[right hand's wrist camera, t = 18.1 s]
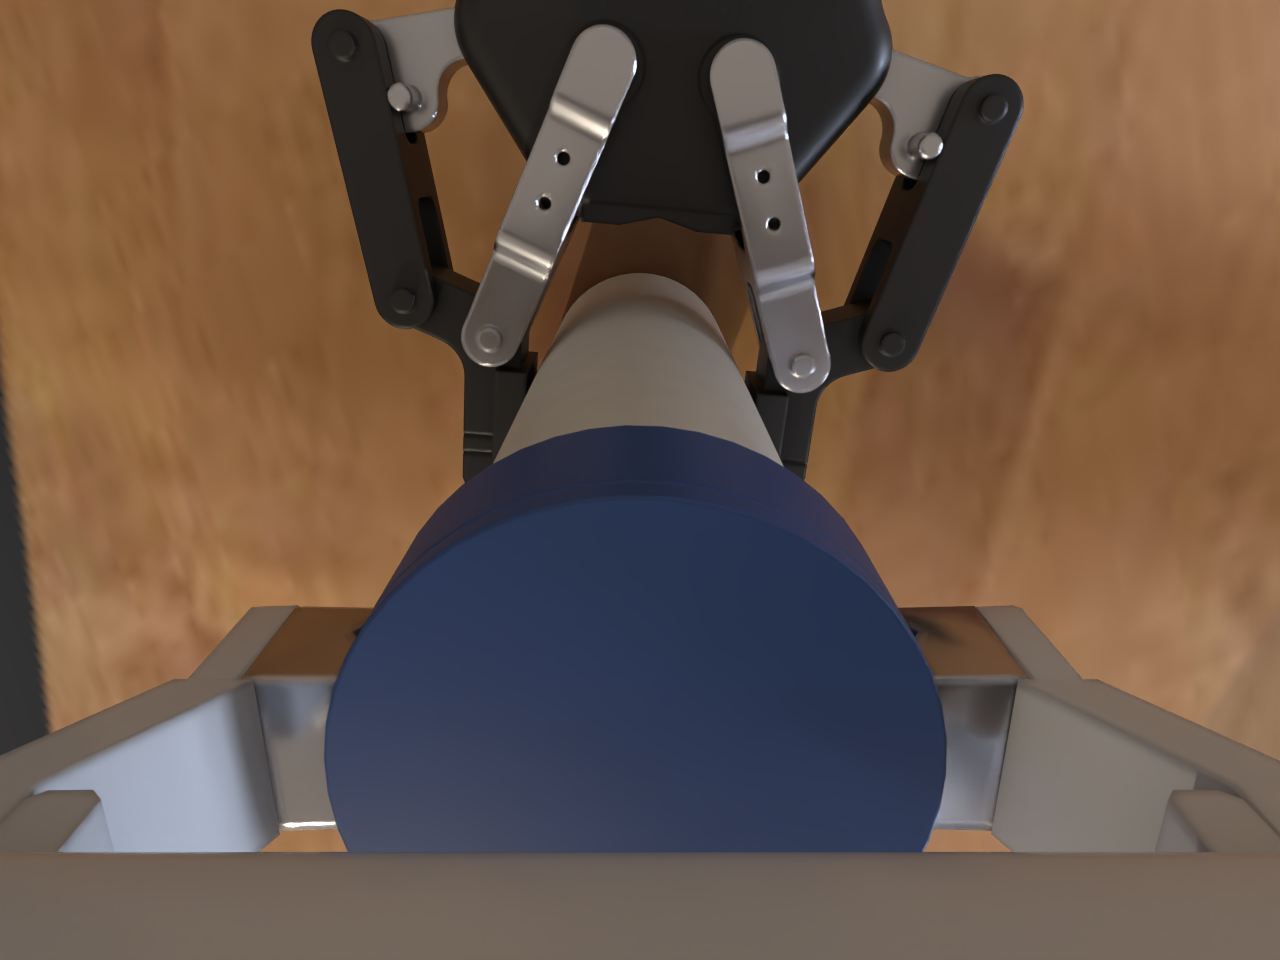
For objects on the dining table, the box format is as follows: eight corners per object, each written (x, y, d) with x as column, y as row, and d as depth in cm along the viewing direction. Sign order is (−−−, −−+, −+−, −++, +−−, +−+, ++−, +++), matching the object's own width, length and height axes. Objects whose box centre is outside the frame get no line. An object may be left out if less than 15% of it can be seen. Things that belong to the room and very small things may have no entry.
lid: (287, 550, 10) (197, 650, 8) (778, 333, 9) (819, 383, 7) (526, 918, 12) (502, 1076, 10) (952, 767, 11) (1024, 905, 9)
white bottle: (659, 236, 25) (703, 407, 8) (756, 378, 26) (973, 789, 9) (520, 339, 26) (283, 691, 9) (620, 470, 27) (584, 995, 10)
